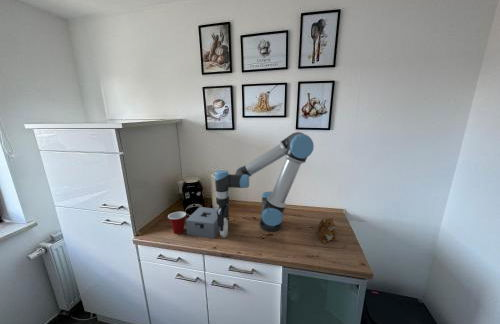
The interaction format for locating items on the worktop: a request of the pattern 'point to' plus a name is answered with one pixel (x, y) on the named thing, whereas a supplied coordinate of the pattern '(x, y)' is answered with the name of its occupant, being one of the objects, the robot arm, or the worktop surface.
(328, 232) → the stuffed squirrel
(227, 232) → the peg
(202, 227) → the socket block
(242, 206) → the worktop surface
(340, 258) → the worktop surface
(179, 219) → the plastic cup
